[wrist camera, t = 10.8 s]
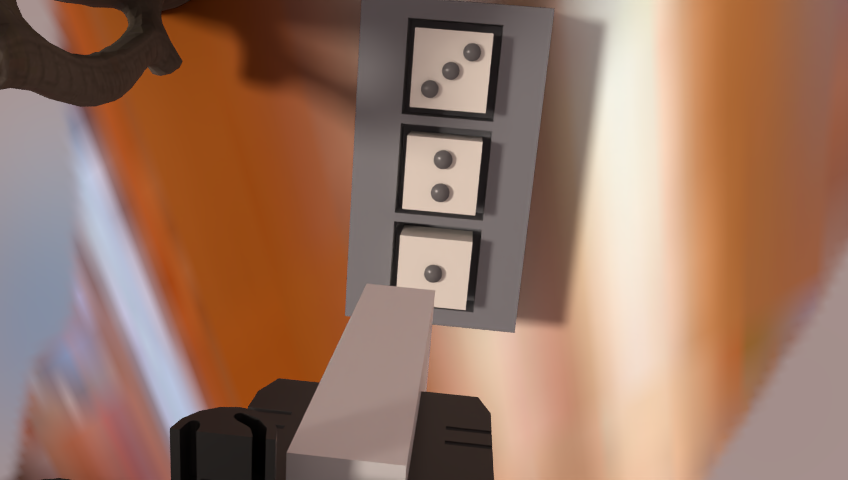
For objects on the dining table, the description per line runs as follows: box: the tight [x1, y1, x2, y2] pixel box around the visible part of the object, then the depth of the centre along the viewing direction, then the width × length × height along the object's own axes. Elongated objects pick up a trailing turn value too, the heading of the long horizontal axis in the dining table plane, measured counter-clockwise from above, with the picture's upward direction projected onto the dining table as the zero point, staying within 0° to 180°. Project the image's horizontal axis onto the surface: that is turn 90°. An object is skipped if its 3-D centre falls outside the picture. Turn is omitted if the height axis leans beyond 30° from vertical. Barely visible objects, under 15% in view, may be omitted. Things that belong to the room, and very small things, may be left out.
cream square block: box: [402, 131, 483, 216], centre depth 37 cm, size 4×4×3 cm
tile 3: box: [410, 27, 494, 113], centre depth 36 cm, size 4×4×3 cm
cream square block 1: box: [397, 225, 473, 310], centre depth 39 cm, size 4×4×3 cm
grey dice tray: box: [345, 0, 554, 333], centre depth 39 cm, size 10×18×3 cm, turn 176°
